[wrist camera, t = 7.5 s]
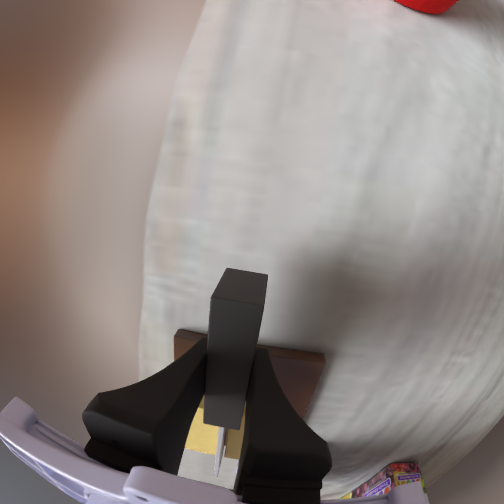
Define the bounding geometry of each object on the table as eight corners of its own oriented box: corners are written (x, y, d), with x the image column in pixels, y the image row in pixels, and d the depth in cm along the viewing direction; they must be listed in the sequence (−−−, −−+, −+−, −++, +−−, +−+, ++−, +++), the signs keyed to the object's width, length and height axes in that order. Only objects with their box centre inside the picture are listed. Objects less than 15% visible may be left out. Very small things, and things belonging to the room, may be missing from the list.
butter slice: (251, 433, 19) (247, 461, 16) (230, 429, 19) (224, 457, 16) (263, 387, 17) (260, 419, 15) (237, 383, 18) (230, 414, 15)
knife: (226, 267, 13) (210, 296, 10) (268, 274, 13) (264, 306, 10) (209, 447, 18) (201, 477, 15) (234, 451, 18) (227, 482, 15)
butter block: (223, 428, 19) (216, 455, 16) (176, 417, 20) (166, 443, 17) (229, 381, 18) (221, 412, 15) (174, 369, 18) (159, 397, 15)
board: (286, 445, 21) (286, 453, 20) (181, 427, 21) (178, 435, 20) (324, 353, 17) (325, 362, 16) (178, 328, 18) (173, 336, 17)
